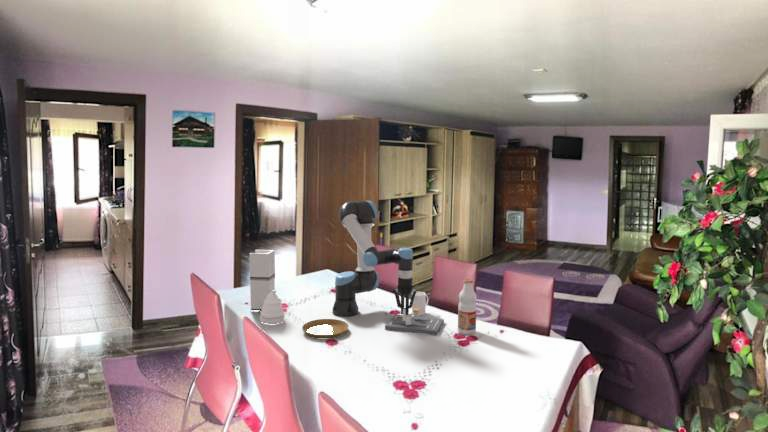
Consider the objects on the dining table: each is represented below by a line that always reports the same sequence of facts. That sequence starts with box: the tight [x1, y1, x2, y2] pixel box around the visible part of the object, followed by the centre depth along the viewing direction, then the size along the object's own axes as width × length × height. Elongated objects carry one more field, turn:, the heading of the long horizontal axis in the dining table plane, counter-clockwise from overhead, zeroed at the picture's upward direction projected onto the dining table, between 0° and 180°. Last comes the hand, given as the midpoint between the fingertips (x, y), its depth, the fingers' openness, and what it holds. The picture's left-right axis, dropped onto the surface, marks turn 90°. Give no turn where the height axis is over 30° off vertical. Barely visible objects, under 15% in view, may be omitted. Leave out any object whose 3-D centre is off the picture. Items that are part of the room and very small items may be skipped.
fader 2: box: [413, 308, 420, 320], centre depth 289 cm, size 3×3×5 cm
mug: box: [410, 291, 429, 317], centre depth 307 cm, size 12×8×12 cm
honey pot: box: [260, 289, 285, 325], centre depth 290 cm, size 13×13×18 cm
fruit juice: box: [457, 278, 477, 335], centre depth 275 cm, size 9×9×28 cm
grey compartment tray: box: [384, 314, 445, 336], centre depth 285 cm, size 28×20×2 cm
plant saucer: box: [301, 318, 349, 339], centre depth 275 cm, size 24×24×3 cm
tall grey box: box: [249, 249, 276, 311], centre depth 309 cm, size 11×11×35 cm
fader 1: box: [405, 313, 413, 325], centre depth 280 cm, size 3×3×5 cm
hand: (404, 320), depth 281 cm, fingers closed
